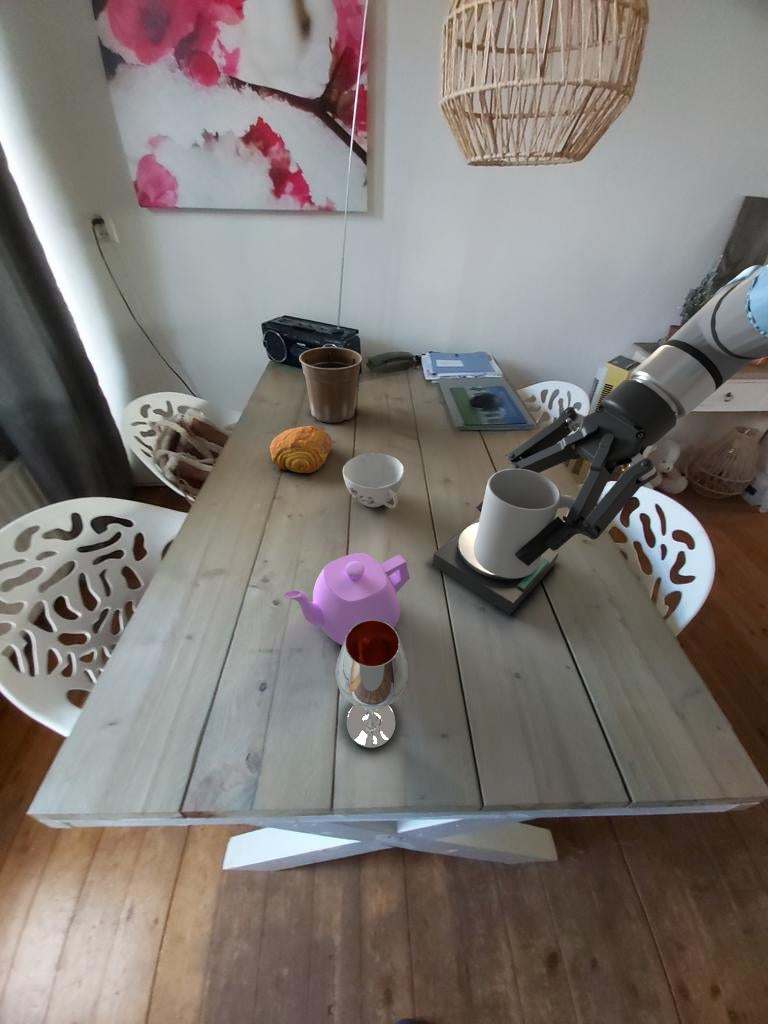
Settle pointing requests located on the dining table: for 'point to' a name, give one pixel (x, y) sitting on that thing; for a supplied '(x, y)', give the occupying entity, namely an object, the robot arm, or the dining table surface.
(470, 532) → the scale pan
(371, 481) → the teacup
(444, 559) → the scale
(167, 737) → the dining table surface
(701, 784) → the dining table surface
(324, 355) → the plant pot
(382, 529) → the dining table surface
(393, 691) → the wineglass
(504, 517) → the mug
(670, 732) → the dining table surface
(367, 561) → the teapot
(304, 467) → the croissant
